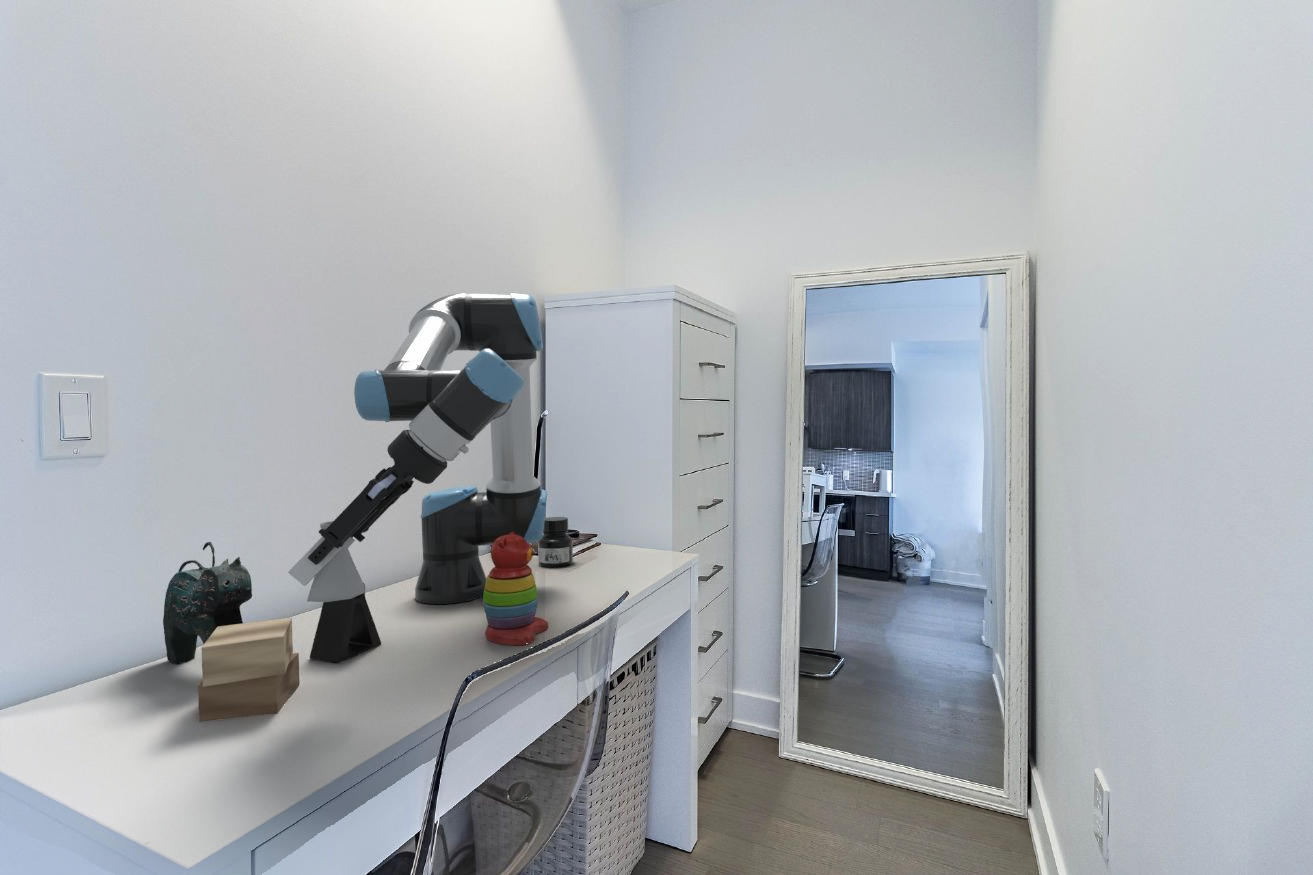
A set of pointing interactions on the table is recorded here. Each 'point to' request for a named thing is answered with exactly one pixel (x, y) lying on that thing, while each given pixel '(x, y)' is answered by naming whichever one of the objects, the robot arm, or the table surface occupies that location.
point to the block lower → (248, 695)
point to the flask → (336, 578)
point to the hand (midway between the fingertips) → (305, 573)
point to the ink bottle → (555, 543)
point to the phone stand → (344, 630)
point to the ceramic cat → (202, 604)
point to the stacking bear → (511, 593)
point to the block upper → (247, 651)
